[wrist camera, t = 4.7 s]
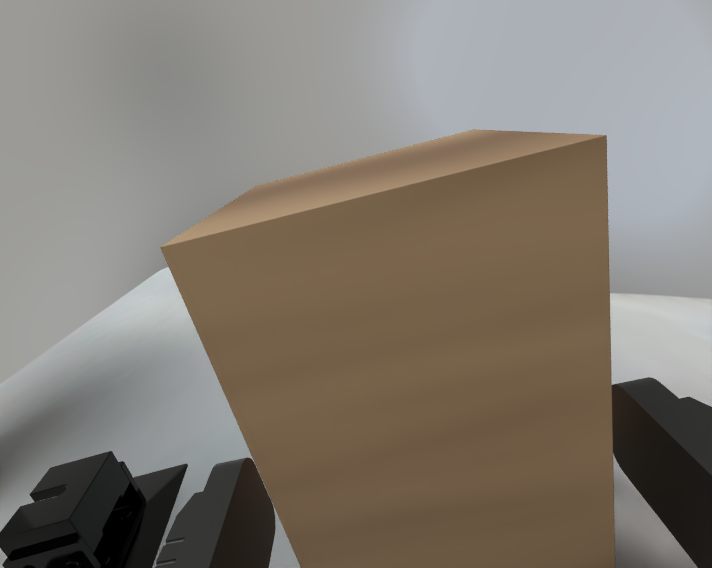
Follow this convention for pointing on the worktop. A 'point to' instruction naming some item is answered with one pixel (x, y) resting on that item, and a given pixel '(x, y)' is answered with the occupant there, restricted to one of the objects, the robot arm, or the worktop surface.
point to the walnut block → (421, 351)
